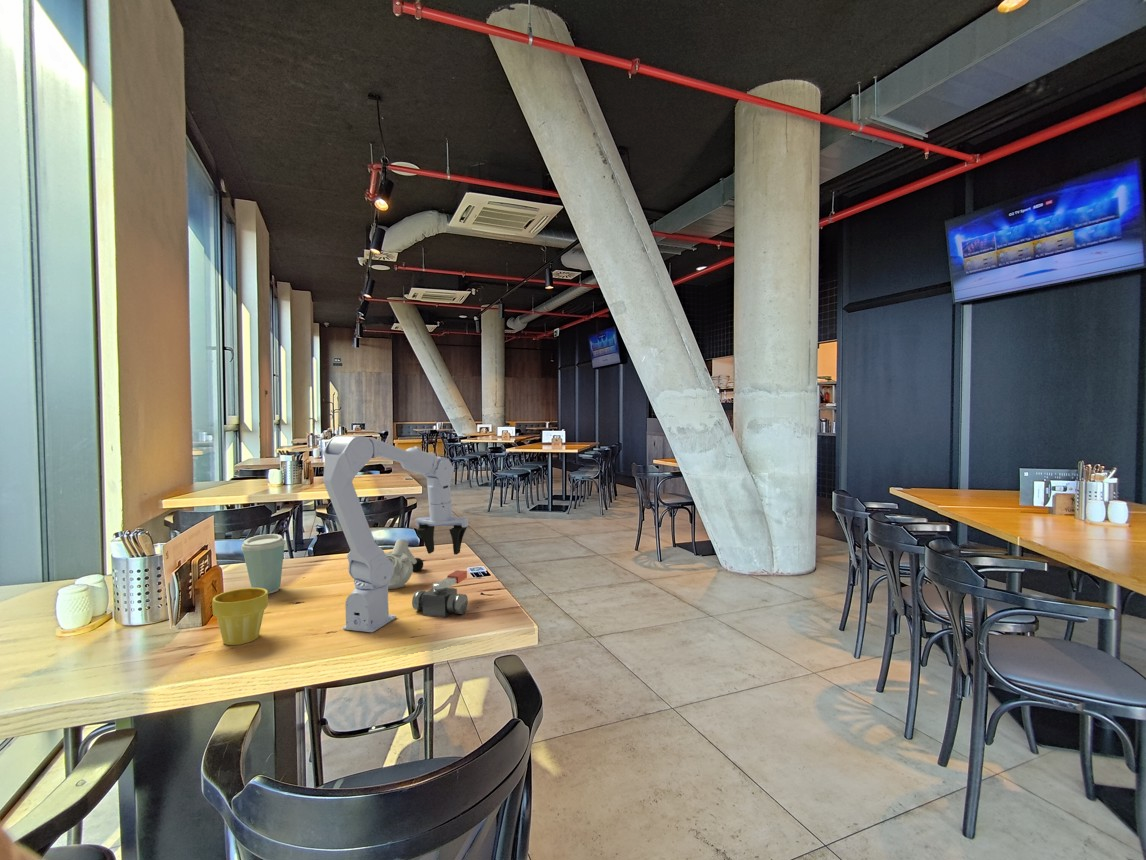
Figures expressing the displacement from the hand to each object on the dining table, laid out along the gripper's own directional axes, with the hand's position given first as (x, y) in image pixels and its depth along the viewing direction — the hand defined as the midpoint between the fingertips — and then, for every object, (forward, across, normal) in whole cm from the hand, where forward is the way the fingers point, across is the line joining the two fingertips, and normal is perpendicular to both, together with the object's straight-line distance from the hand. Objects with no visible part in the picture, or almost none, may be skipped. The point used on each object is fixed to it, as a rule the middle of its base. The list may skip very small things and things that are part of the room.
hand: (443, 552), depth 143 cm
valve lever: (+6, -4, +5) cm, 9 cm away
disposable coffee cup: (+10, +51, +8) cm, 53 cm away
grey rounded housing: (+12, +20, -10) cm, 26 cm away
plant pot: (+9, +30, +36) cm, 47 cm away
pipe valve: (+11, -4, +11) cm, 16 cm away
